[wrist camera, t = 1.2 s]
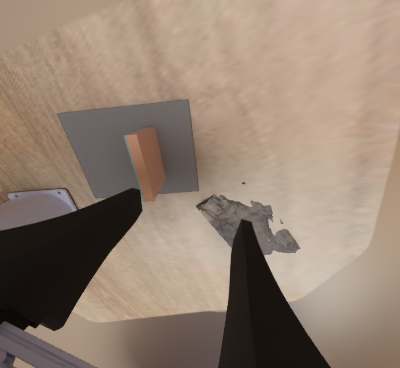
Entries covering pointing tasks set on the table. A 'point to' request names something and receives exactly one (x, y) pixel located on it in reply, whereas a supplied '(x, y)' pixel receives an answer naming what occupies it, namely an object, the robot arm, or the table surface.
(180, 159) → the mat
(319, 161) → the table surface
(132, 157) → the tile
